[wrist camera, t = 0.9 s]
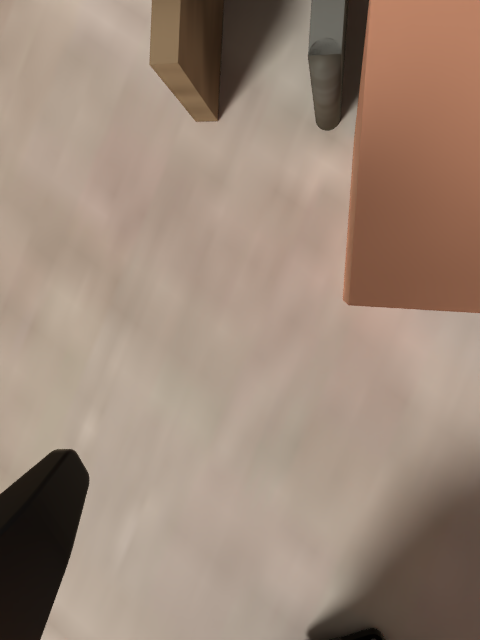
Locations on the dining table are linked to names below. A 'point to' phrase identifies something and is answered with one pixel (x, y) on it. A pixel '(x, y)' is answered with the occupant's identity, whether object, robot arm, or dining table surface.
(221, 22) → the book rack
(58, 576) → the robot arm
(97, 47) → the dining table surface
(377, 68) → the book
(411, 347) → the dining table surface
